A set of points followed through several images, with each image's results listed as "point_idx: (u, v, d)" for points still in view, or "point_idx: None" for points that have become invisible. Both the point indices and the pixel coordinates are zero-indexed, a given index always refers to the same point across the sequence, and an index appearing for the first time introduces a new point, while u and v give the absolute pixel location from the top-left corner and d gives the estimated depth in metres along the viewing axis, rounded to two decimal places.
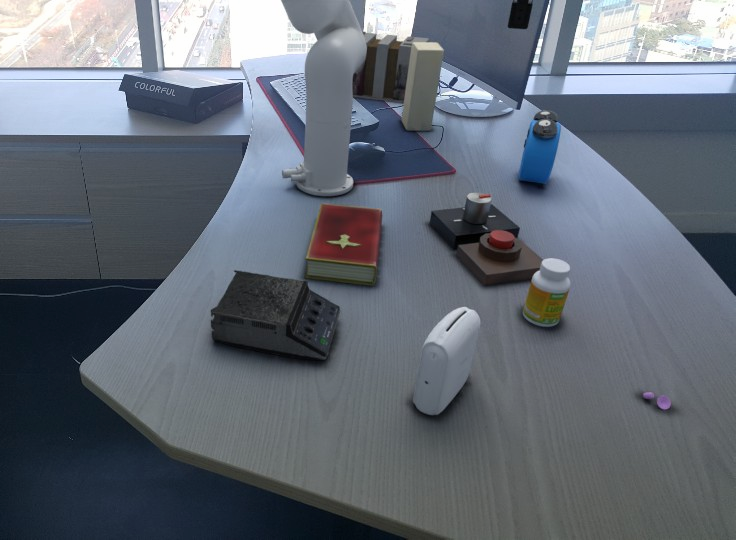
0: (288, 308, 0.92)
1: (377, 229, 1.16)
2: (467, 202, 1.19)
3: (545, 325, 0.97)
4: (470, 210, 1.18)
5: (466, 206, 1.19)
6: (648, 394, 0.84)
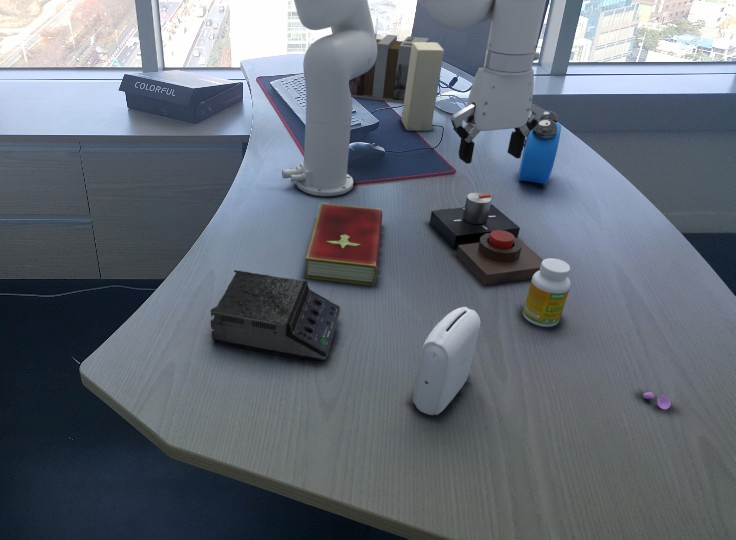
0: (288, 308, 0.92)
1: (377, 229, 1.16)
2: (467, 202, 1.19)
3: (545, 325, 0.97)
4: (470, 210, 1.18)
5: (466, 206, 1.19)
6: (648, 394, 0.84)
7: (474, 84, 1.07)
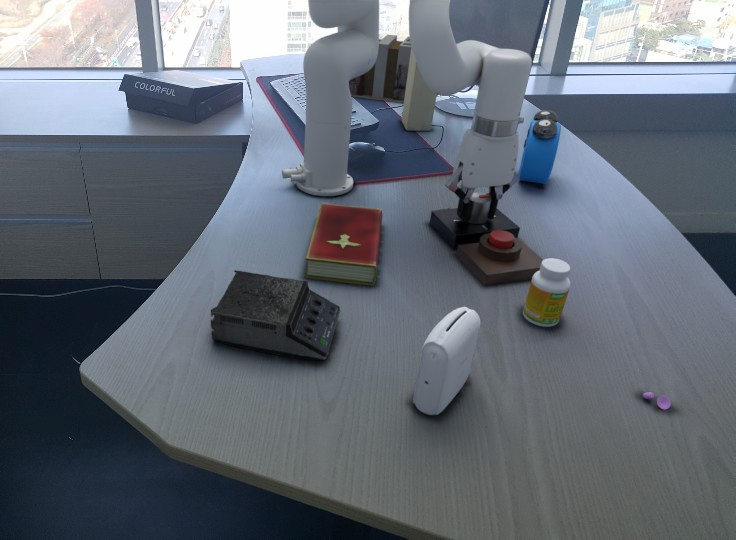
0: (288, 308, 0.92)
1: (377, 229, 1.16)
2: None
3: (545, 325, 0.97)
4: None
5: None
6: (648, 394, 0.84)
7: (462, 145, 1.13)
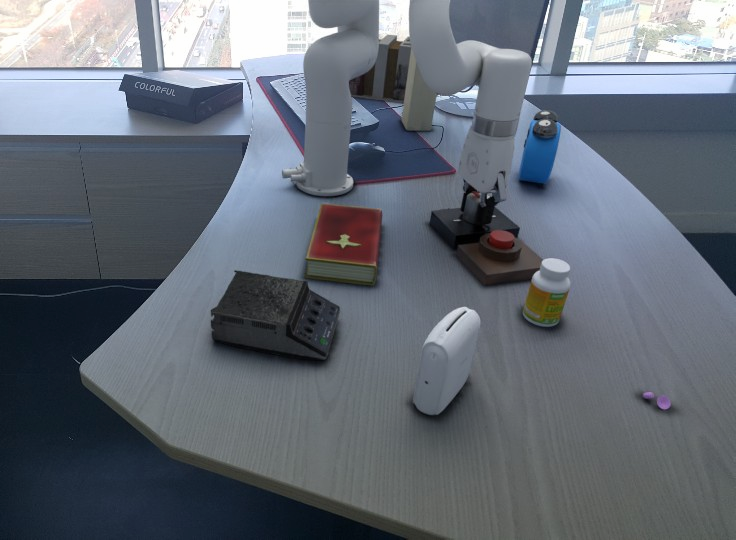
0: (288, 308, 0.92)
1: (377, 229, 1.16)
2: None
3: (545, 325, 0.97)
4: None
5: None
6: (648, 394, 0.84)
7: (499, 156, 1.09)
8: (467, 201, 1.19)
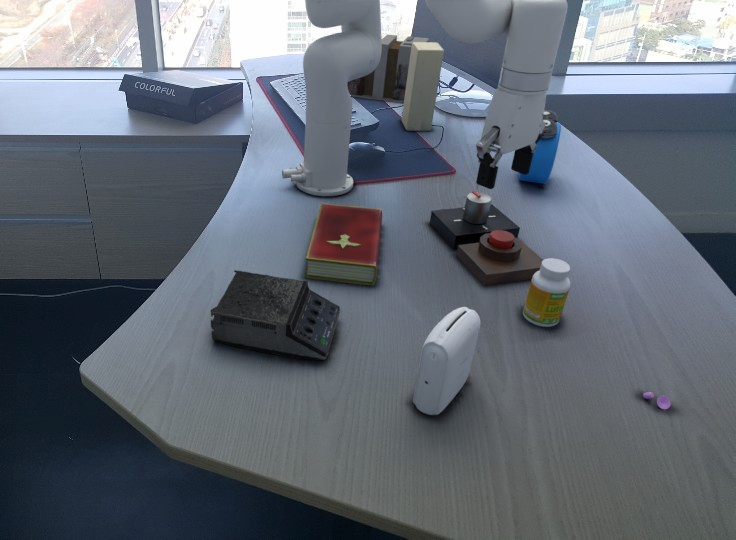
0: (287, 308, 0.92)
1: (377, 229, 1.16)
2: (483, 206, 1.17)
3: (545, 325, 0.97)
4: (487, 210, 1.18)
5: (482, 211, 1.18)
6: (648, 394, 0.84)
7: (494, 107, 1.01)
8: (467, 201, 1.19)
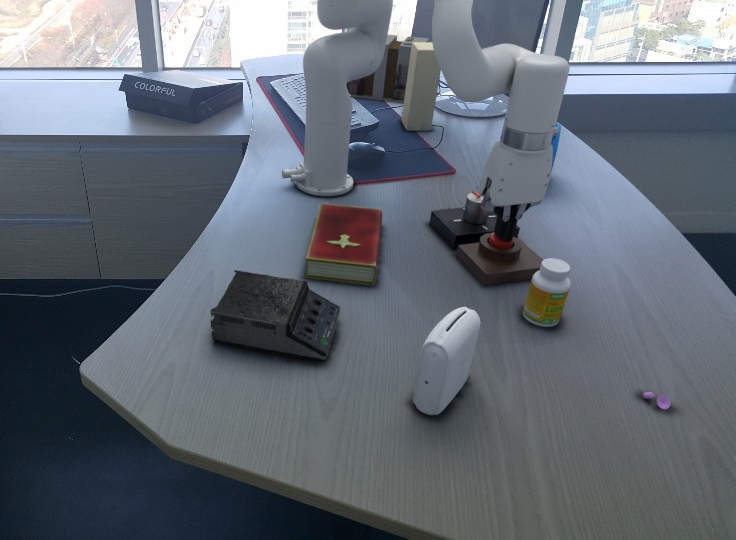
0: (287, 308, 0.92)
1: (377, 229, 1.16)
2: None
3: (545, 325, 0.97)
4: None
5: (482, 211, 1.18)
6: (648, 394, 0.84)
7: (490, 159, 1.03)
8: (467, 201, 1.19)
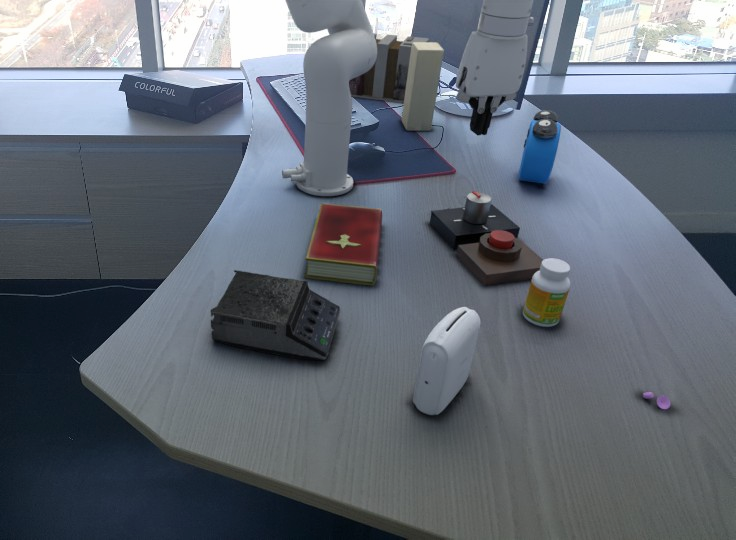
0: (287, 308, 0.92)
1: (377, 229, 1.16)
2: (483, 206, 1.17)
3: (545, 325, 0.97)
4: (487, 210, 1.18)
5: (482, 211, 1.18)
6: (648, 394, 0.84)
7: (467, 48, 1.06)
8: (467, 201, 1.19)
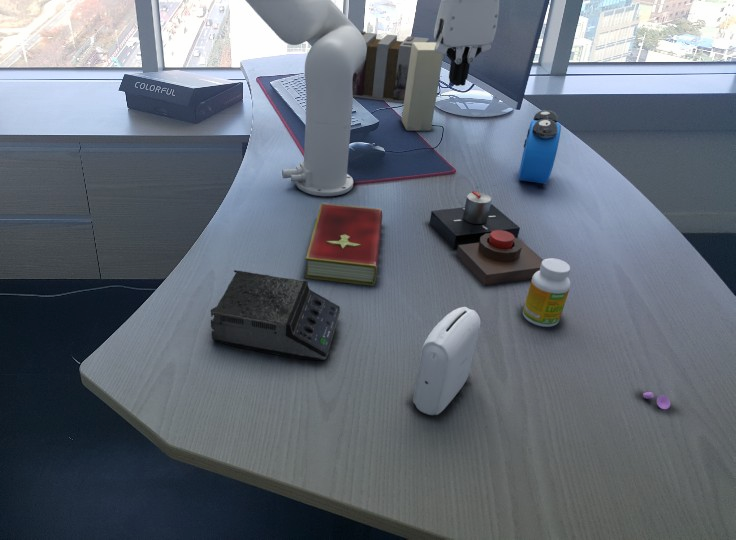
0: (287, 308, 0.92)
1: (377, 229, 1.16)
2: (483, 206, 1.17)
3: (545, 325, 0.97)
4: (487, 210, 1.18)
5: (482, 211, 1.18)
6: (648, 394, 0.84)
7: (442, 0, 1.12)
8: (467, 201, 1.19)
